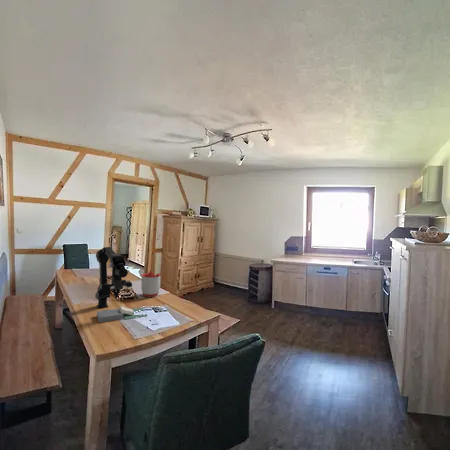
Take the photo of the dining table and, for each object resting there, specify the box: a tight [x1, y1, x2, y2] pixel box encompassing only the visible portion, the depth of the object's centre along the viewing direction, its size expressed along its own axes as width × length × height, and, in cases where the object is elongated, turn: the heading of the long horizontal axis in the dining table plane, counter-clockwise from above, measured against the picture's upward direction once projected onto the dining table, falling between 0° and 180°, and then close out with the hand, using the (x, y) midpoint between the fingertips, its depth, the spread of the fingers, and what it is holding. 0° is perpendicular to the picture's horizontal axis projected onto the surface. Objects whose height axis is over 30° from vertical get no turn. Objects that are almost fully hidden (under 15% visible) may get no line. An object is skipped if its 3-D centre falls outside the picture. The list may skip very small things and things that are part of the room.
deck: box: [96, 307, 124, 324], centre depth 177 cm, size 12×14×3 cm
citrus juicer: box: [140, 271, 162, 298], centre depth 228 cm, size 16×17×20 cm
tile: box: [119, 306, 134, 315], centre depth 182 cm, size 7×8×2 cm
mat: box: [123, 307, 148, 320], centre depth 185 cm, size 16×14×1 cm
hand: (116, 298), depth 179 cm, fingers closed
